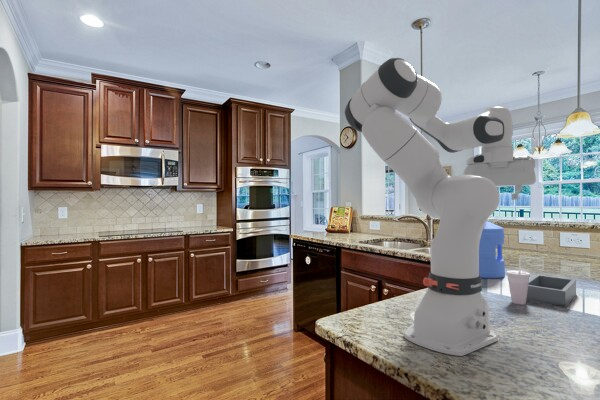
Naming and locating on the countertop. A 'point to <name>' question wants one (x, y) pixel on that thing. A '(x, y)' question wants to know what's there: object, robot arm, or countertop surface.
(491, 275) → the water jug
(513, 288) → the smoothie
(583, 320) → the countertop surface
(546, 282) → the crate
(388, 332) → the countertop surface
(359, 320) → the countertop surface
